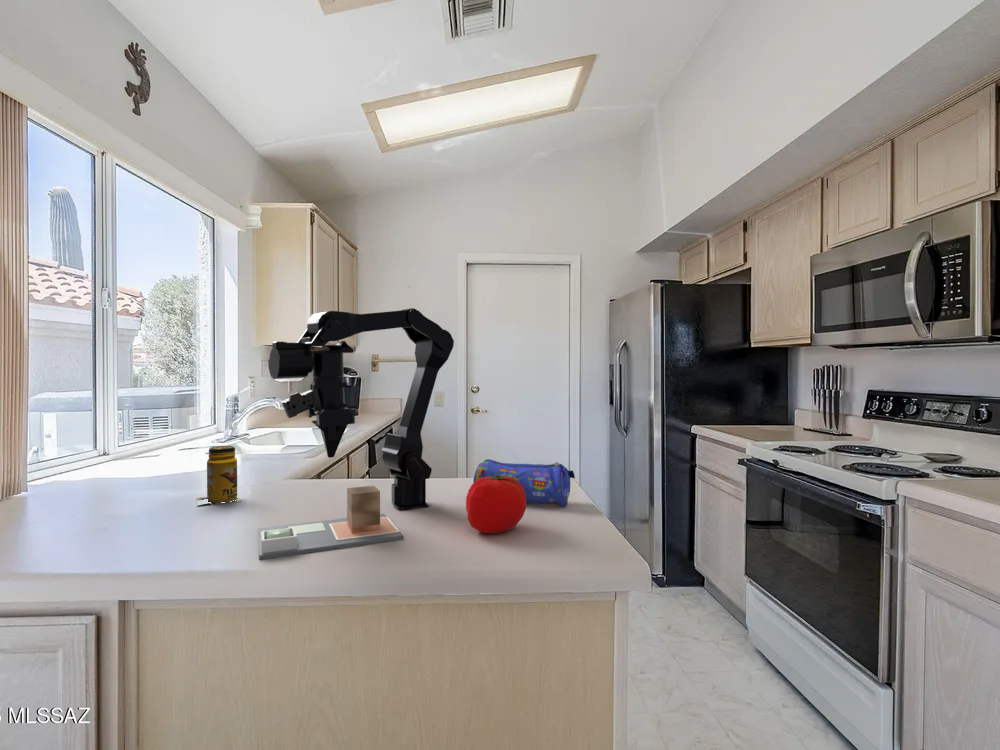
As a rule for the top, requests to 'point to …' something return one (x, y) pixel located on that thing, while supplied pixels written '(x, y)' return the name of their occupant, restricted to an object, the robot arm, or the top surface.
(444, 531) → the top surface
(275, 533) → the button
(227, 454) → the condiment
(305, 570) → the top surface
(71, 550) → the top surface
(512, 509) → the tomato
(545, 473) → the pencil case
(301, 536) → the picture board
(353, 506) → the stamp
